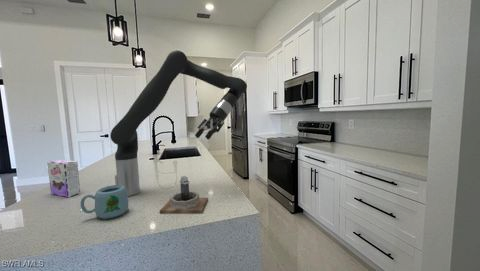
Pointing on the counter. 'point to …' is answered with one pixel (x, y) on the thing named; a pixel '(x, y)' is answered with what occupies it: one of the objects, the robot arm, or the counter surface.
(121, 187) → the mug
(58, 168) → the candy box
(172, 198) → the stand
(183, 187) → the grey post on base
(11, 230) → the counter surface
